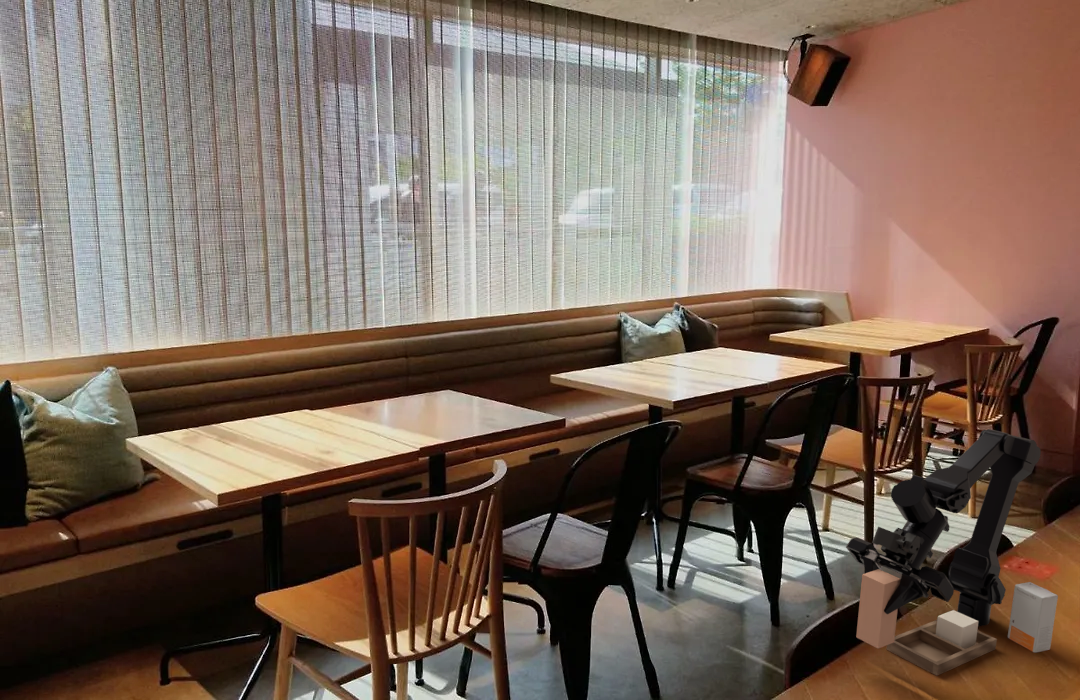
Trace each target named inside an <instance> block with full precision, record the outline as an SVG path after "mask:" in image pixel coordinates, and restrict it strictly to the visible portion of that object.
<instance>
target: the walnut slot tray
mask: <svg viewBox="0 0 1080 700" xmlns="http://www.w3.org/2000/svg"><path fill="white" fill-rule="evenodd" d="M936 627H937V619H935V620H934V621H929V622H927V623H924V624H923V625H920V626H918V627H915V628H912V629H911V630H906V631H905V632H902V633H900V634H897V635H895V638H894V642H893V643H891V644H888V645H886V651H889V652H891V653H892V654H895V655H896V656H898V657H900V658H902V659H904V660H906V661H908V662H909V663H911V664H913V665H915V666H917V667H919V668H921V669H923V670H925V671H926V672H929V673H931V674H933V675H934V676H937V677H938V676H939V675H941V674H943V673H946V672H949V671H951V670H952V669H953V670H954V669H955V668H957V667H959V666H961V665H964V664H966V663H968V662H970V661H973V660H975V659H977V658H980V657H981V656H983V655H985V654H988V653H990V652H993V651H995V650H996V648H997V641H998V639H997V638H995V637H994V636H991V635H989V634H987V633H984V632H982V631H980V630H979V629H977V637H976V645H974V646H971V647H969V648H967V649H964V648H962V647H960V646H958V645H956V644H954V643H952V642H950V641H948V640H945V639H943V638H941V637H939V636H937V635H936Z"/></svg>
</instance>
